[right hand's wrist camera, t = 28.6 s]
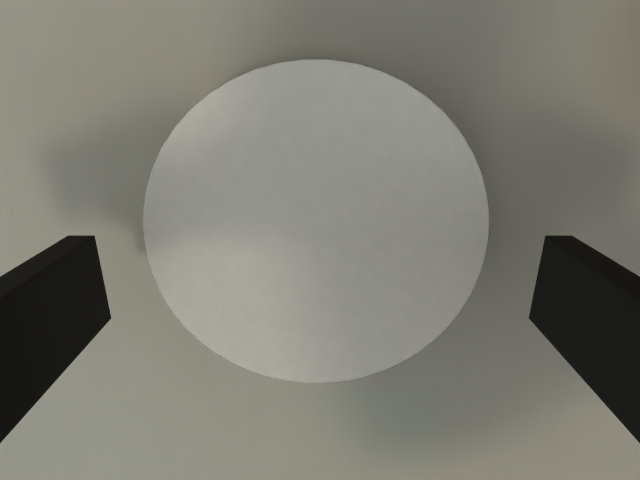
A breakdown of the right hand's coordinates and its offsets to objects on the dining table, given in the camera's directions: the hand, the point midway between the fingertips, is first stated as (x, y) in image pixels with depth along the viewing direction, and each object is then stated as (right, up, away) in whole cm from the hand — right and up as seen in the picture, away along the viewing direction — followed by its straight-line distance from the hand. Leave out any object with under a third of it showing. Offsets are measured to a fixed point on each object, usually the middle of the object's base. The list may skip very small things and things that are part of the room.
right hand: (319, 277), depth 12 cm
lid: (0, +1, +1) cm, 2 cm away
